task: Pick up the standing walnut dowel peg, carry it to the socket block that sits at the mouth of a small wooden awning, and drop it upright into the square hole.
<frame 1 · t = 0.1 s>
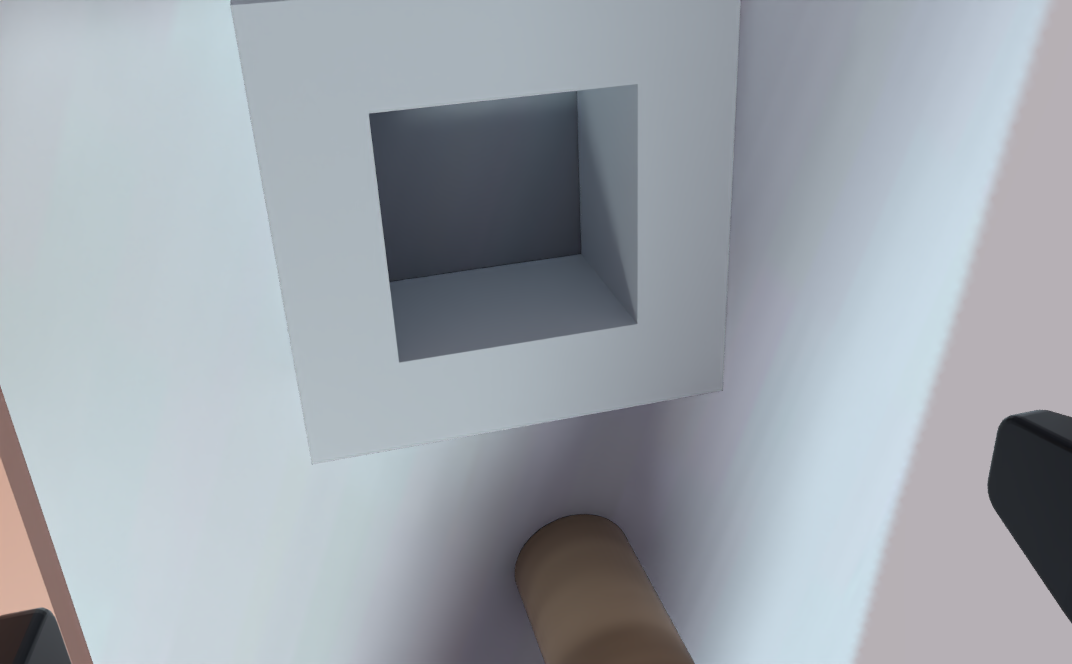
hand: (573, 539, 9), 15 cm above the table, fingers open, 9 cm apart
peg: (572, 563, 29), on the table
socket: (473, 167, 23), on the table
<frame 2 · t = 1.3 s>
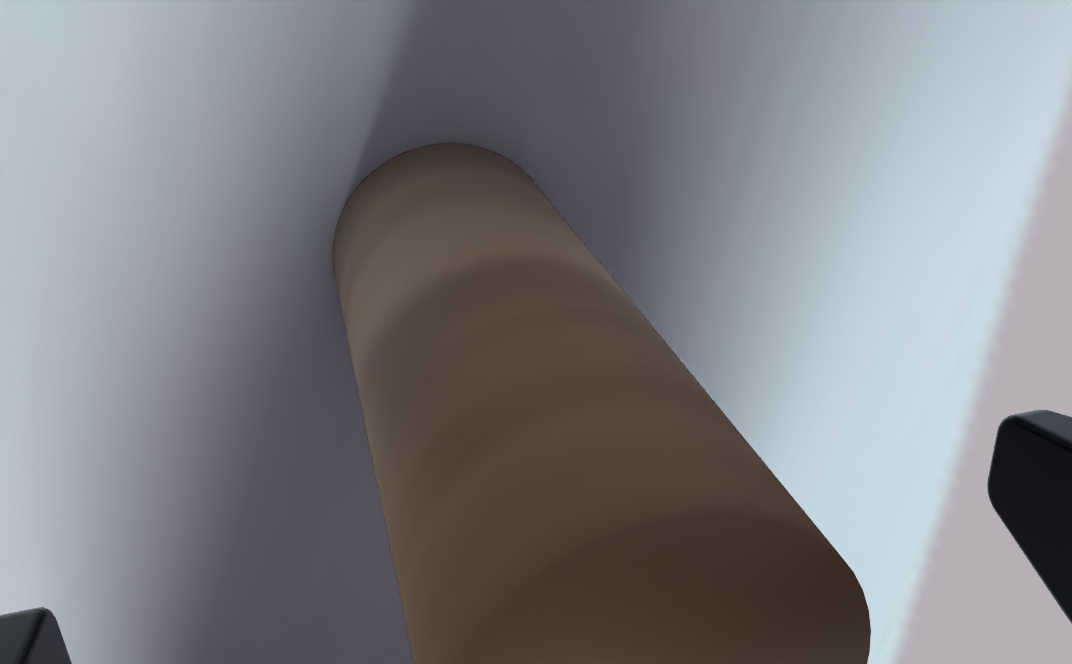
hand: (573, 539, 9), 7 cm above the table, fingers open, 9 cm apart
peg: (446, 253, 15), on the table
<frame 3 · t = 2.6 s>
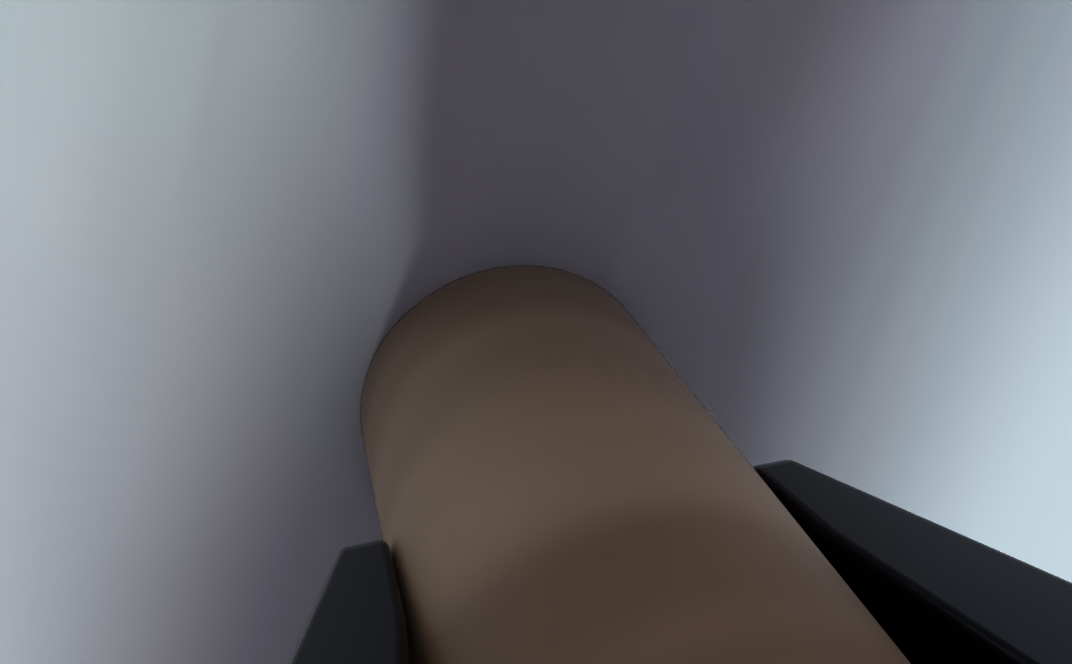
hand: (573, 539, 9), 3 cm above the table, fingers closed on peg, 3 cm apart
peg: (510, 403, 11), on the table, touching gripper
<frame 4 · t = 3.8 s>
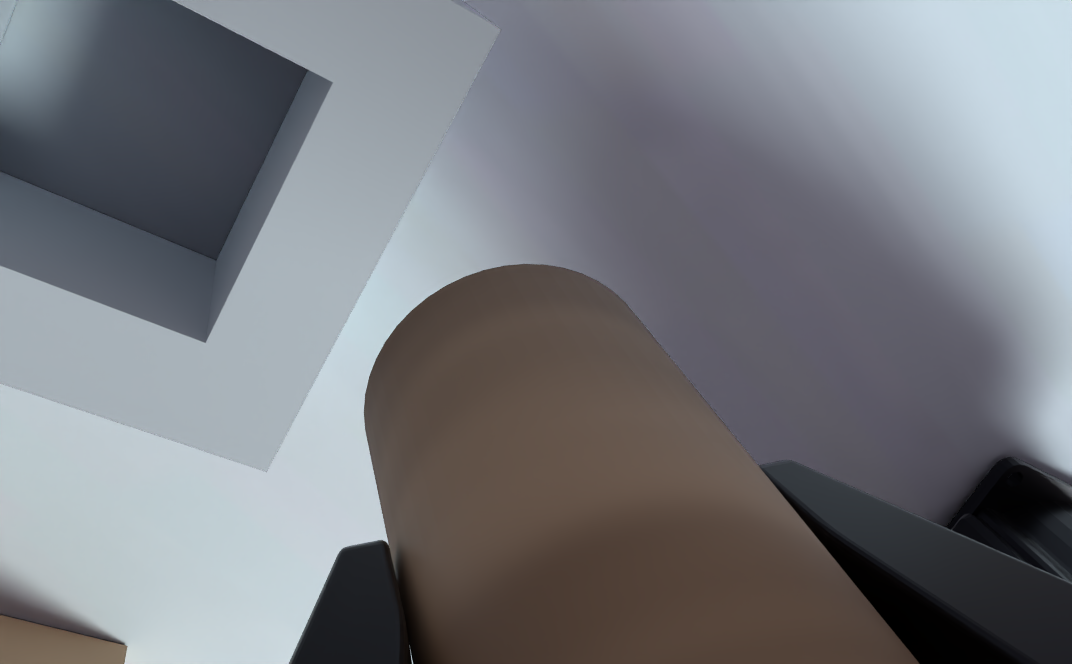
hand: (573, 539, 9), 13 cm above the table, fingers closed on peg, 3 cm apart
peg: (514, 402, 11), point 11 cm above the table, touching gripper
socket: (142, 96, 19), on the table
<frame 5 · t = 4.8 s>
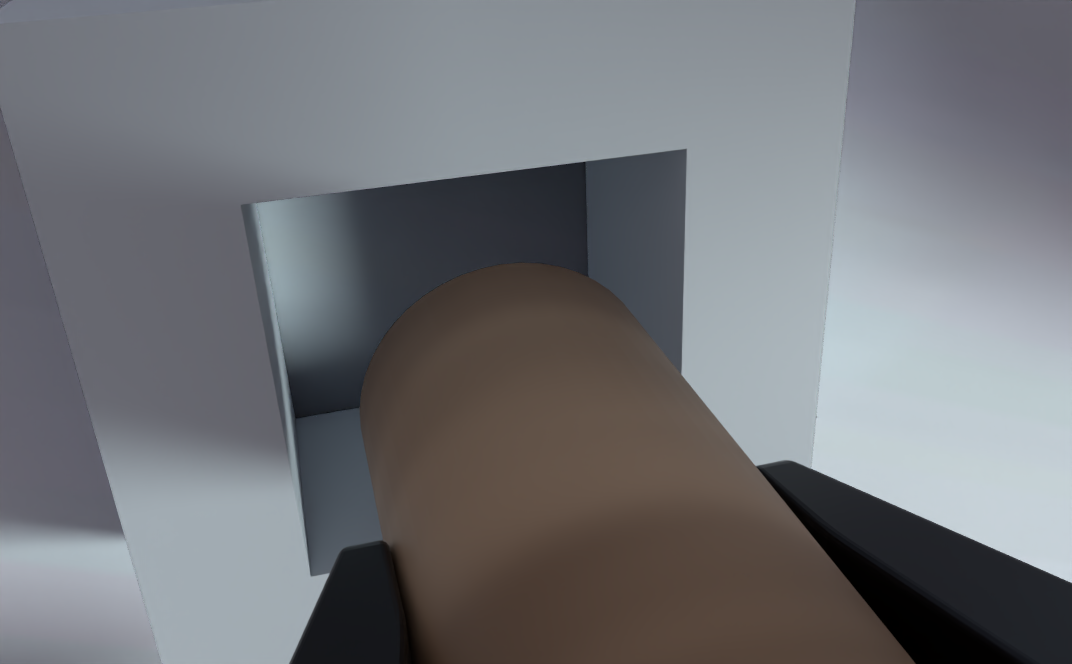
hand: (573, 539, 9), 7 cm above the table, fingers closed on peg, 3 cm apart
peg: (510, 401, 11), point 5 cm above the table, touching gripper
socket: (433, 254, 16), on the table
when the fingers open (5 cm above the table, at t = 5.5 s): peg drops 3 cm, resting in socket.
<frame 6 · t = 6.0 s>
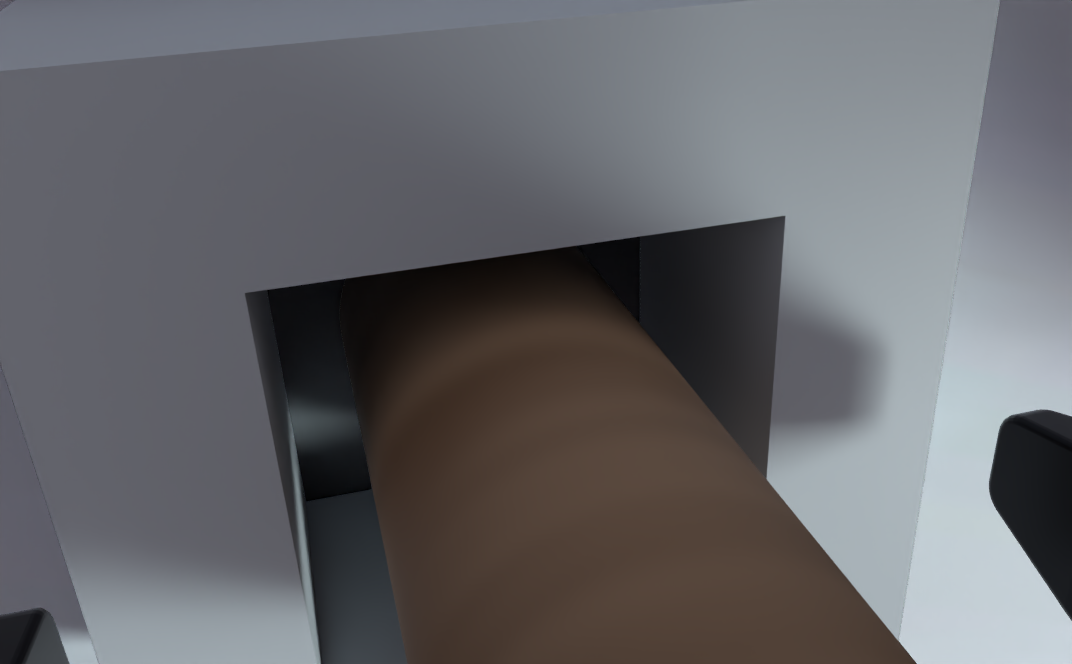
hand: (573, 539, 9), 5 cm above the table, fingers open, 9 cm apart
peg: (466, 310, 14), resting in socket
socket: (465, 316, 14), on the table
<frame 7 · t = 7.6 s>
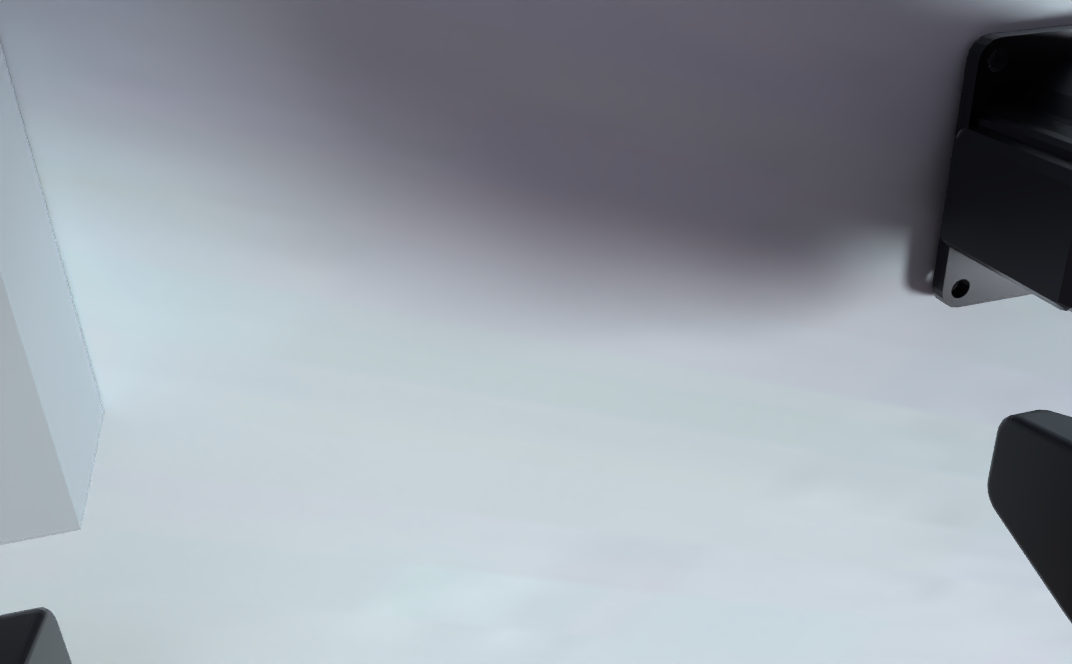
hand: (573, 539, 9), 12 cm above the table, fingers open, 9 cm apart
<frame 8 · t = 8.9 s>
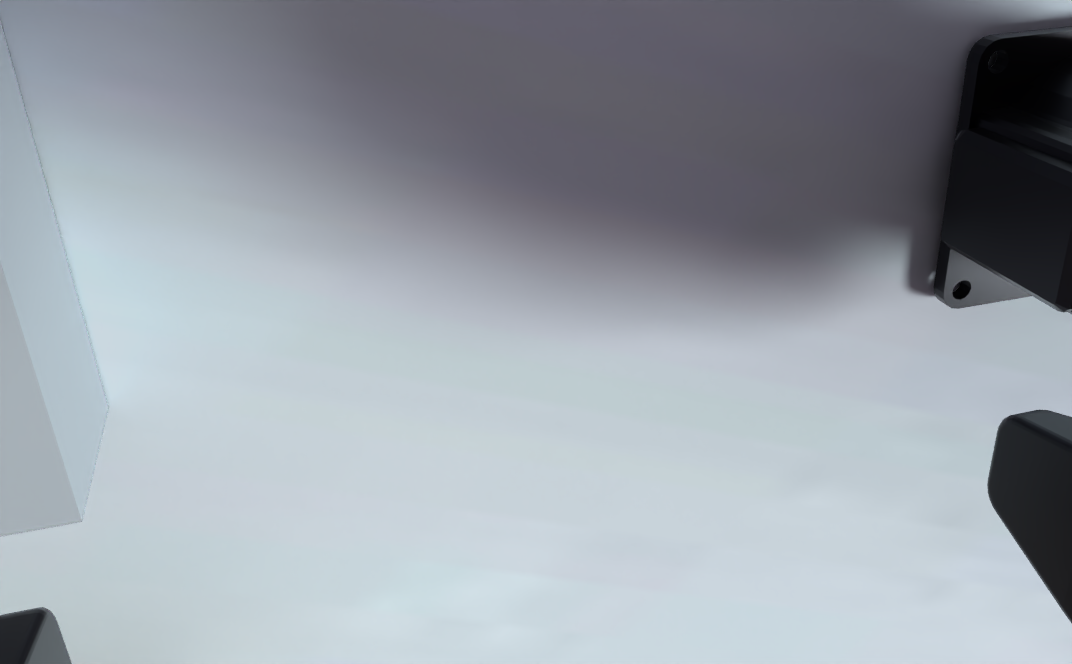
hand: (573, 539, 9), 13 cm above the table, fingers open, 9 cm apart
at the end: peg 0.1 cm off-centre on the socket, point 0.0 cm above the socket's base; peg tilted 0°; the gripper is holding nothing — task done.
